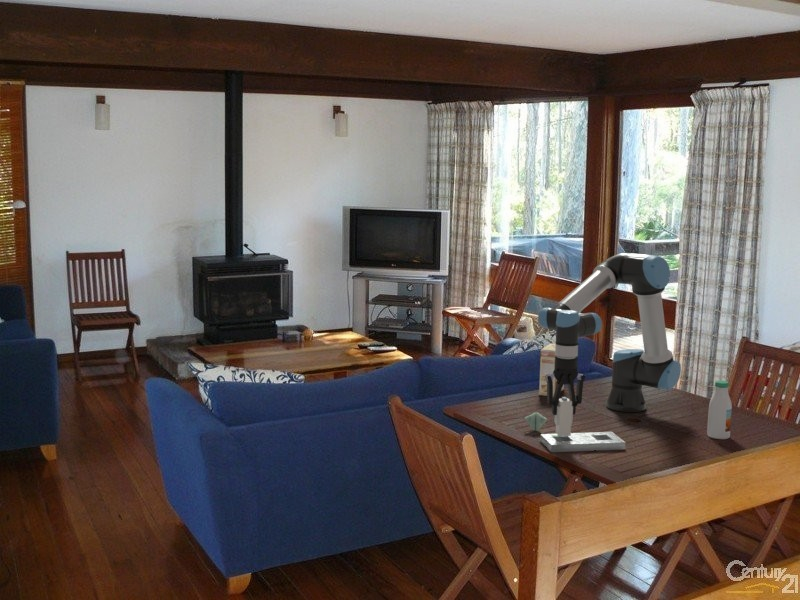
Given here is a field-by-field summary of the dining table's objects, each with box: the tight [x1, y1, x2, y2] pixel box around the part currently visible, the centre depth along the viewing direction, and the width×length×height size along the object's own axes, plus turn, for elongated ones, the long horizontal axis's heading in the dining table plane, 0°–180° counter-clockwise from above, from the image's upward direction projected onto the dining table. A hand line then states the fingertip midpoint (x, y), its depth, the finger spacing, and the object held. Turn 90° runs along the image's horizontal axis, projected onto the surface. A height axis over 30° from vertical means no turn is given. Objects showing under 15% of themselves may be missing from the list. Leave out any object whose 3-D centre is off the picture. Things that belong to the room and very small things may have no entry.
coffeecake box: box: [538, 342, 565, 397], centre depth 374 cm, size 15×7×20 cm, turn 155°
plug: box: [554, 396, 572, 436], centre depth 302 cm, size 4×4×13 cm
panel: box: [539, 431, 626, 453], centre depth 305 cm, size 26×12×3 cm, turn 99°
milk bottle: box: [706, 380, 733, 440], centre depth 315 cm, size 8×8×20 cm
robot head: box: [524, 411, 548, 432], centre depth 321 cm, size 8×4×7 cm, turn 78°
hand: (563, 423), depth 303 cm, fingers closed on plug, 4 cm apart
